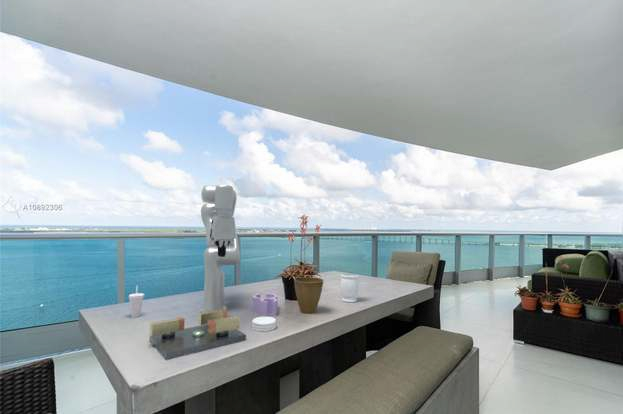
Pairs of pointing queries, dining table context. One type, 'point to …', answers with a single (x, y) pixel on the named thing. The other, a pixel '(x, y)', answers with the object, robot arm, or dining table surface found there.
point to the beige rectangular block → (211, 315)
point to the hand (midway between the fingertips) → (221, 256)
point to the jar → (349, 287)
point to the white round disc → (263, 324)
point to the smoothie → (136, 303)
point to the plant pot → (308, 293)
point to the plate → (193, 341)
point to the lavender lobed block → (265, 304)
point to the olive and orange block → (167, 327)
